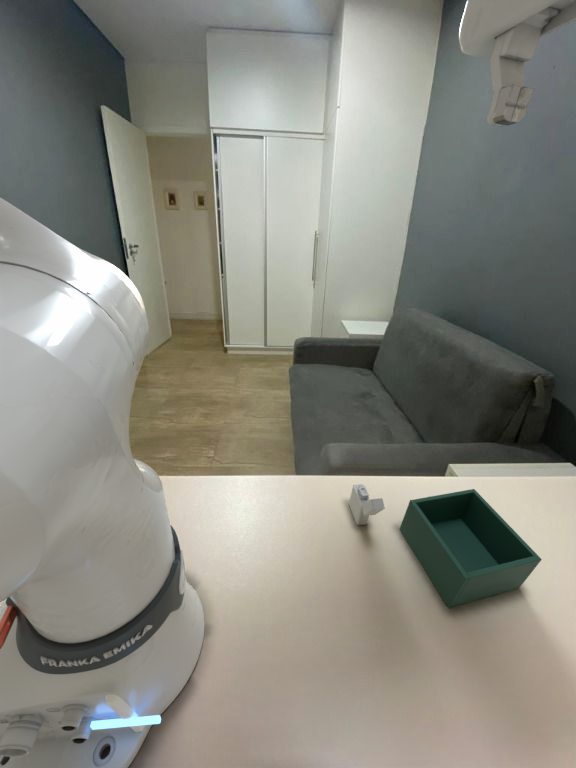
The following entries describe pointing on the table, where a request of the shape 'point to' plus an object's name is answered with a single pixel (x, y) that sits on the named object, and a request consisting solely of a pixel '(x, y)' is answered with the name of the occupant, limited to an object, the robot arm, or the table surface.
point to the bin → (466, 547)
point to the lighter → (363, 504)
